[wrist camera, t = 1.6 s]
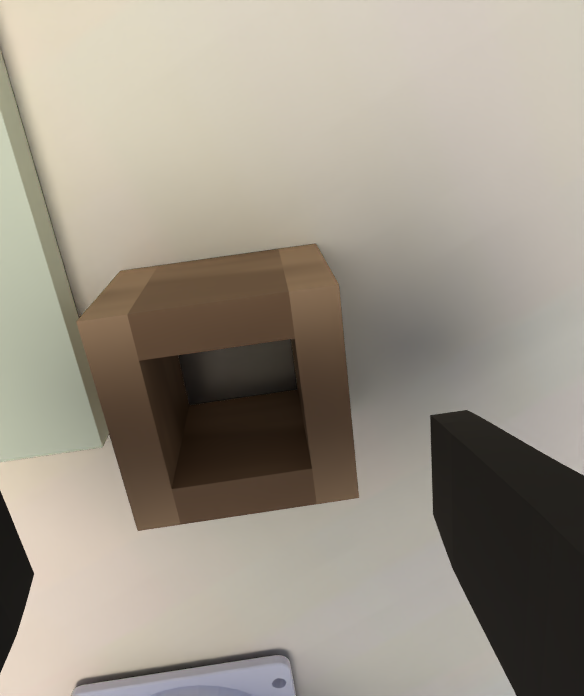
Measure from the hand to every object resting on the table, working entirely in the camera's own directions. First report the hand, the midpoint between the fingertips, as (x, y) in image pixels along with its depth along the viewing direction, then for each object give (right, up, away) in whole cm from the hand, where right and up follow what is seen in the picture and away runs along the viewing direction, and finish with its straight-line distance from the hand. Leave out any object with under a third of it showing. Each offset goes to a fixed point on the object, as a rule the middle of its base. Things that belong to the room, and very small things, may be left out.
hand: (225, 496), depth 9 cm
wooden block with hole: (0, +2, +6) cm, 7 cm away
